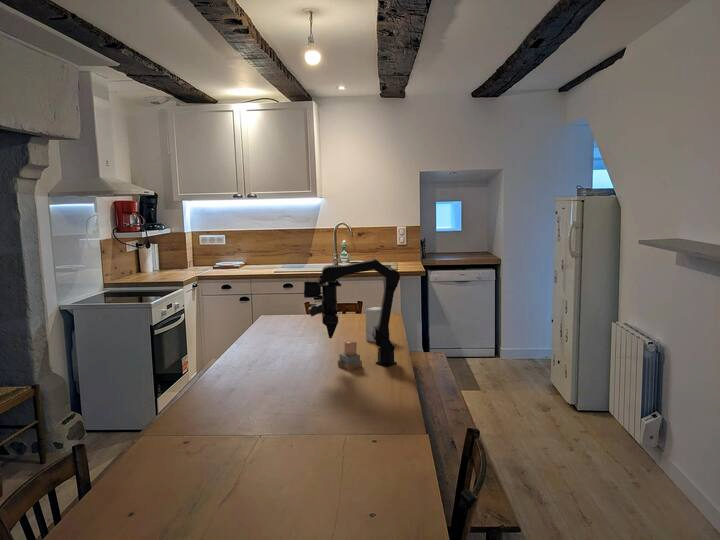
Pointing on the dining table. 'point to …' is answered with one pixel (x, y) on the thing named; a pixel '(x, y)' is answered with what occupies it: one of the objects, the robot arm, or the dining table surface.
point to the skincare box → (371, 321)
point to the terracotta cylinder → (350, 348)
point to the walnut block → (349, 364)
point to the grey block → (349, 358)
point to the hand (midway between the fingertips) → (330, 335)
